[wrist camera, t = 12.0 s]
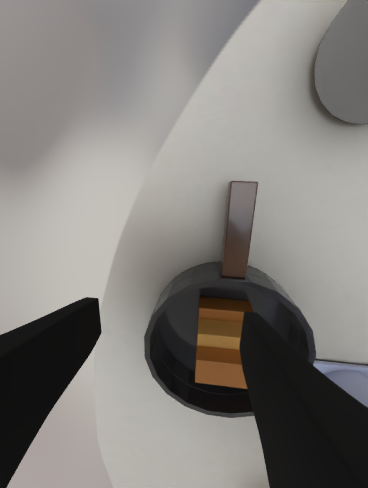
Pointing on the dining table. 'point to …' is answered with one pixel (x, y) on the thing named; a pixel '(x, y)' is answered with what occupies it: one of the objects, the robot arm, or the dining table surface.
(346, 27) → the can
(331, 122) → the dining table surface
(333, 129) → the dining table surface
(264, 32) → the dining table surface
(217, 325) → the tiered wooden ziggurat
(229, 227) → the pan handle
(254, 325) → the robot arm
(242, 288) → the pan
